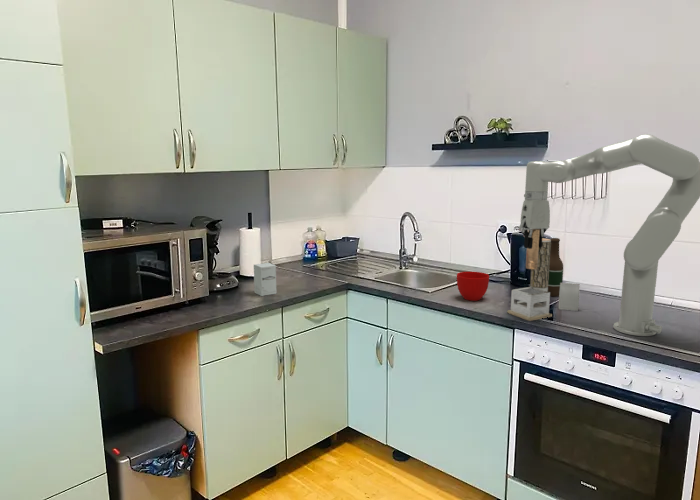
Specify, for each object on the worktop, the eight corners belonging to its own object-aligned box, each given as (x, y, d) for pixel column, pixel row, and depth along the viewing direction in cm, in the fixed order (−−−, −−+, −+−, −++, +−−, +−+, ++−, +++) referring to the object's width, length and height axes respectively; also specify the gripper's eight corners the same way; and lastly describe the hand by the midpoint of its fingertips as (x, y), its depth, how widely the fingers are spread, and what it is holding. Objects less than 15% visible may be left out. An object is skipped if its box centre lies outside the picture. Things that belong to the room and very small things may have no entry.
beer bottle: (565, 295, 218) (569, 238, 213) (553, 297, 214) (556, 240, 210) (550, 291, 224) (553, 236, 220) (537, 293, 220) (541, 237, 216)
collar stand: (551, 316, 188) (553, 292, 187) (529, 321, 184) (530, 296, 182) (529, 309, 198) (530, 286, 197) (507, 312, 193) (508, 289, 192)
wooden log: (535, 303, 206) (539, 241, 202) (525, 298, 213) (529, 238, 208) (550, 301, 208) (554, 240, 204) (540, 297, 214) (543, 237, 210)
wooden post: (540, 268, 187) (543, 219, 184) (531, 269, 185) (534, 219, 182) (531, 266, 191) (534, 217, 187) (523, 267, 189) (526, 218, 186)
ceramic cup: (500, 297, 215) (501, 273, 214) (475, 304, 204) (476, 280, 203) (474, 291, 225) (474, 268, 223) (449, 298, 214) (450, 274, 212)
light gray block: (578, 311, 196) (580, 285, 194) (558, 309, 198) (560, 283, 196) (577, 308, 199) (579, 283, 197) (558, 306, 201) (560, 281, 199)
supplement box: (261, 296, 218) (260, 267, 216) (254, 292, 224) (253, 264, 222) (277, 294, 222) (276, 265, 220) (269, 290, 228) (268, 262, 226)
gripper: (526, 198, 176) (523, 251, 180) (561, 196, 184) (557, 247, 187) (510, 196, 183) (507, 247, 186) (544, 195, 190) (541, 244, 194)
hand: (532, 247), depth 187 cm, fingers closed on wooden post, 4 cm apart
